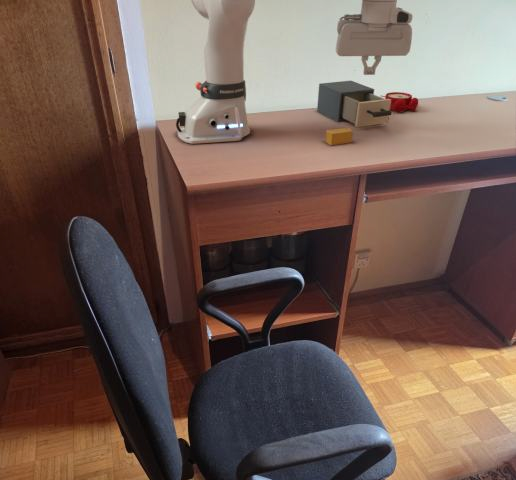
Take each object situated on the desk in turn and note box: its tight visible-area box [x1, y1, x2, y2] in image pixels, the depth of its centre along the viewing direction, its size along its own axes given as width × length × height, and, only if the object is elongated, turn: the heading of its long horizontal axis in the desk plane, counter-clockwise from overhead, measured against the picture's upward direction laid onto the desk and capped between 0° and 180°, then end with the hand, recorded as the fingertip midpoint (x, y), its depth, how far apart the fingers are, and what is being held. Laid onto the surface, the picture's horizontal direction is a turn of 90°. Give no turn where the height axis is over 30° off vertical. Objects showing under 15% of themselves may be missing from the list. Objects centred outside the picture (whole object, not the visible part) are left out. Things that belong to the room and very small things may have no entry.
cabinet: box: [316, 80, 375, 123], centre depth 153 cm, size 15×13×9 cm
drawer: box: [340, 93, 393, 128], centre depth 143 cm, size 18×11×7 cm, turn 23°
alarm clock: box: [381, 91, 419, 114], centre depth 159 cm, size 10×6×15 cm
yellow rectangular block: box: [324, 127, 354, 146], centre depth 132 cm, size 7×3×3 cm, turn 113°
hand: (369, 74), depth 128 cm, fingers closed
